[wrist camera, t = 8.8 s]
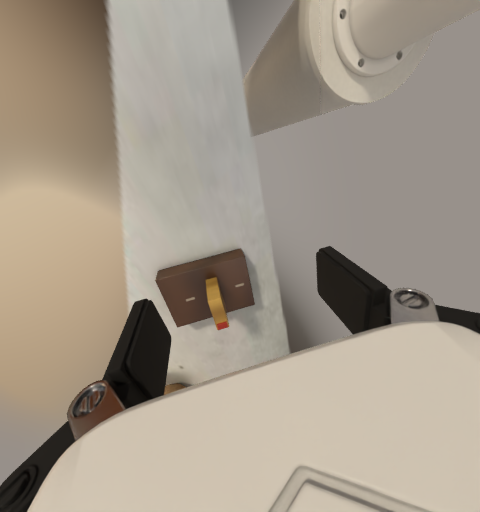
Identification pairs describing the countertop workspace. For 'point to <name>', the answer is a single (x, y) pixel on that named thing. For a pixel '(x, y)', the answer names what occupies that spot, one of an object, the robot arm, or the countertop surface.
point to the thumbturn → (216, 303)
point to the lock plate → (194, 286)
